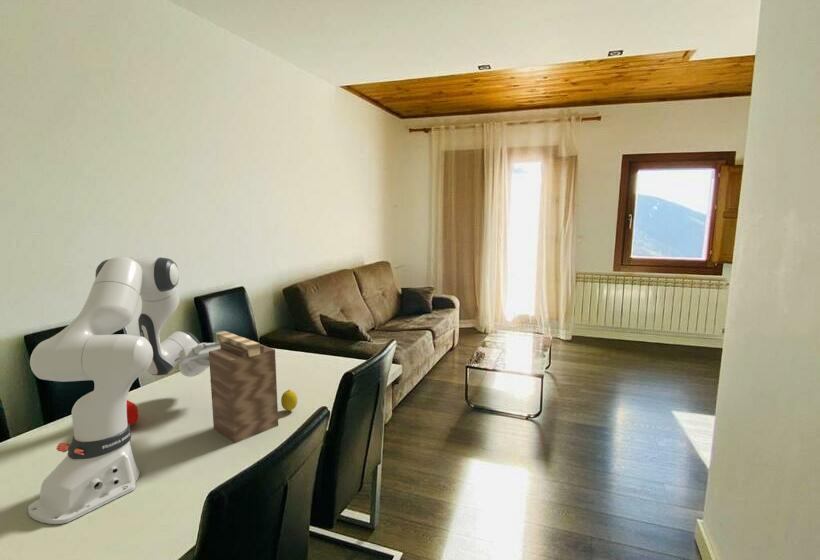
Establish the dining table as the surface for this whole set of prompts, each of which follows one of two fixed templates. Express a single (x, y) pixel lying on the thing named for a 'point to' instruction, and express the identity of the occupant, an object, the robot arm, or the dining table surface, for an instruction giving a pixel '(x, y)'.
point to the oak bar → (237, 342)
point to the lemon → (289, 400)
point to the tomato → (132, 413)
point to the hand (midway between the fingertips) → (217, 343)
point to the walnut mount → (243, 391)
